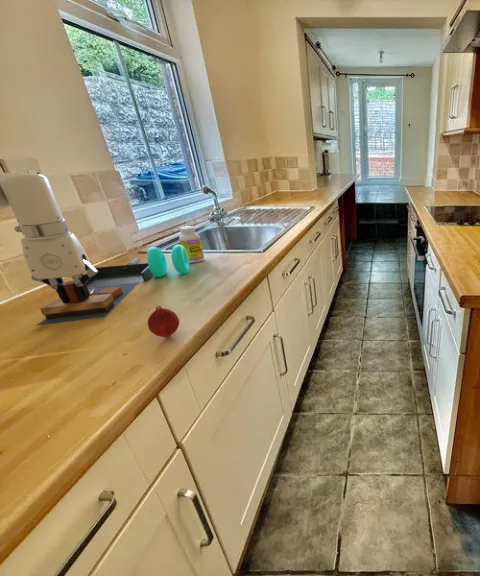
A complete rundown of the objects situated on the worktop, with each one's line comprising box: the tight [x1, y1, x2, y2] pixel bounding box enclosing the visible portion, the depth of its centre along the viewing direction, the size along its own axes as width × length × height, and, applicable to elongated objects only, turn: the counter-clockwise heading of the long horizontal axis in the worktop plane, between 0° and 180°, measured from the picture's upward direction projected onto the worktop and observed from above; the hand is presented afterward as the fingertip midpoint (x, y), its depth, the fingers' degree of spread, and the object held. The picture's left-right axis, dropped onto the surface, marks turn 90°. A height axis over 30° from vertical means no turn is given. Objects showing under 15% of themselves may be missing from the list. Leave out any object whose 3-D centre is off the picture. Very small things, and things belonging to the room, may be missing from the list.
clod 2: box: [96, 287, 123, 299], centre depth 91 cm, size 4×4×2 cm
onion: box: [147, 304, 180, 338], centre depth 71 cm, size 6×6×8 cm
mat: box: [36, 282, 141, 326], centre depth 89 cm, size 14×24×1 cm, turn 17°
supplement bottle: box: [178, 225, 205, 264], centre depth 119 cm, size 7×7×13 cm
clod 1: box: [89, 289, 97, 296], centre depth 90 cm, size 4×4×2 cm
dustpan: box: [84, 257, 153, 288], centre depth 108 cm, size 20×17×3 cm
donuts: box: [146, 244, 190, 278], centre depth 106 cm, size 10×10×10 cm
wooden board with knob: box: [39, 280, 114, 319], centre depth 81 cm, size 13×5×8 cm, turn 107°
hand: (76, 299), depth 82 cm, fingers closed on wooden board with knob, 2 cm apart
